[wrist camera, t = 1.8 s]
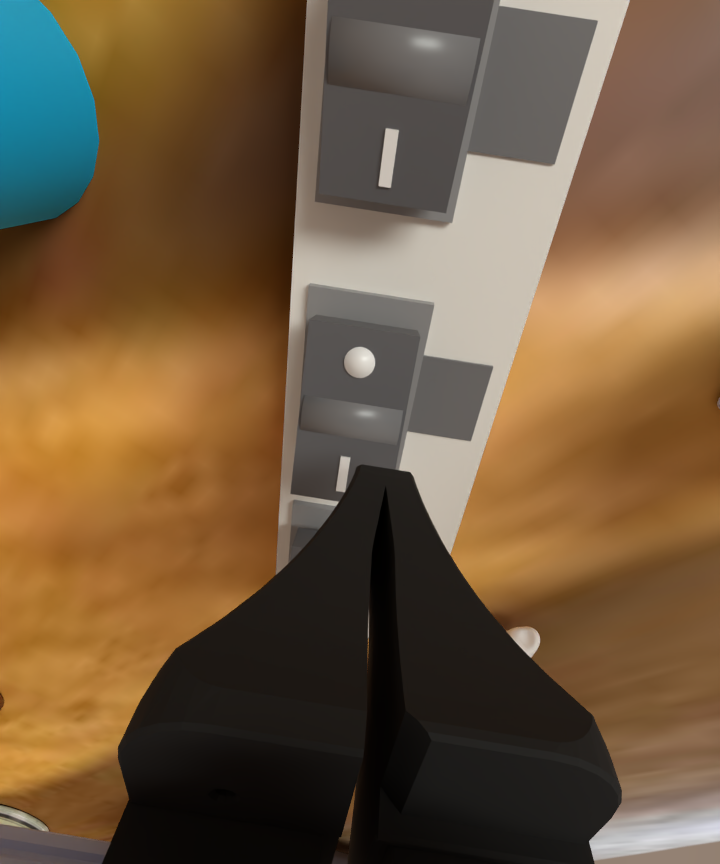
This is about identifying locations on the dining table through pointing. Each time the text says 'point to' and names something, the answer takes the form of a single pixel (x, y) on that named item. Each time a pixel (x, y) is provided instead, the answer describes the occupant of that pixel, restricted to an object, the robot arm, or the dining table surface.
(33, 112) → the mug
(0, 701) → the disposable coffee cup
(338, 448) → the rocker dark gray
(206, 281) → the dining table surface
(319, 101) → the power strip
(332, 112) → the dark grey block
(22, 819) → the coffee can
